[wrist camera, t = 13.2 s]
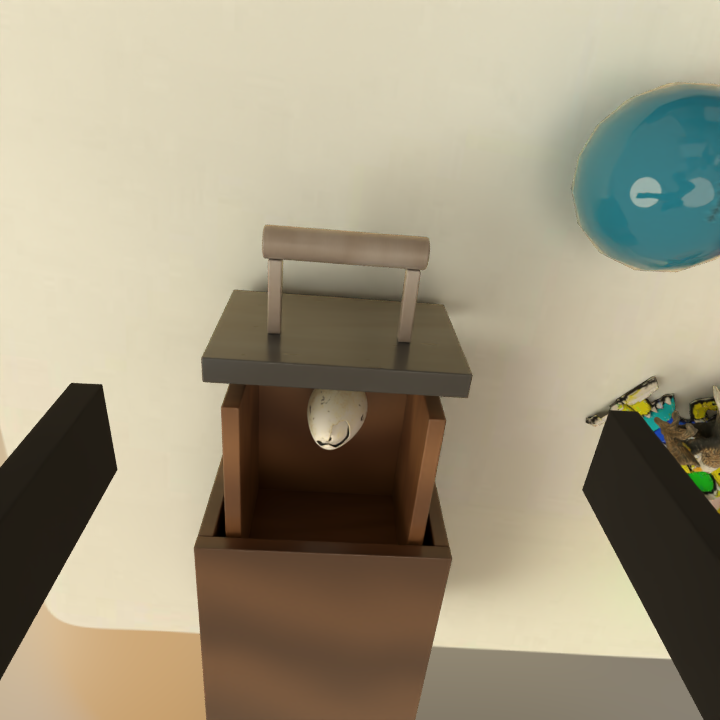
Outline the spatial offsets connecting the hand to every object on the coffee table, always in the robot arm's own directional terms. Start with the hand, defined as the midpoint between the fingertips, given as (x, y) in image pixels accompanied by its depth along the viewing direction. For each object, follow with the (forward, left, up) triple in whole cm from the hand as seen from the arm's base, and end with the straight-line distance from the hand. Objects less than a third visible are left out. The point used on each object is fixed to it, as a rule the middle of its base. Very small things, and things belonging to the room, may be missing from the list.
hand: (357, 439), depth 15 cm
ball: (-5, +14, -17) cm, 23 cm away
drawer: (+7, 0, -16) cm, 18 cm away
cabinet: (+20, 0, -17) cm, 26 cm away
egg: (+8, 0, -15) cm, 17 cm away
